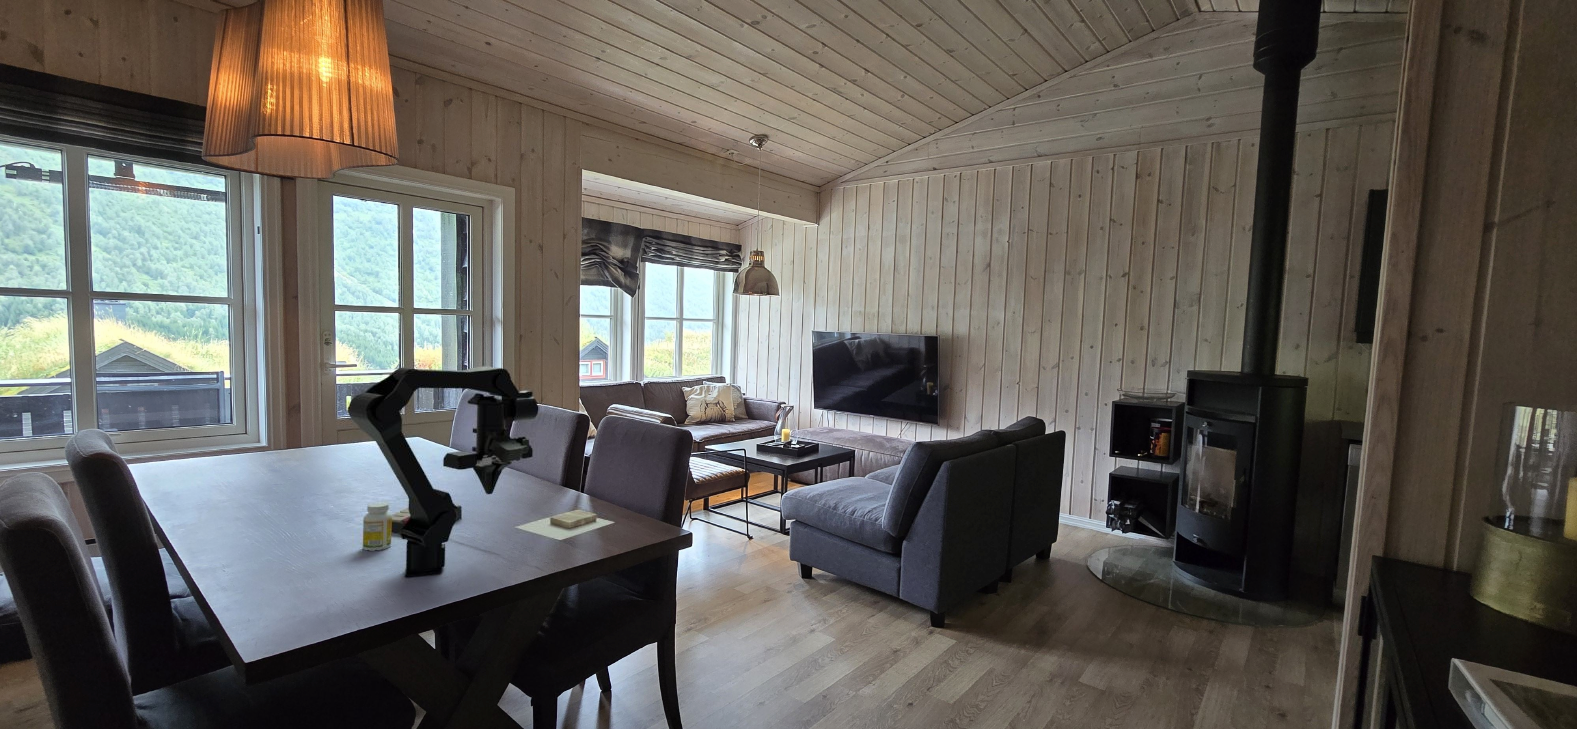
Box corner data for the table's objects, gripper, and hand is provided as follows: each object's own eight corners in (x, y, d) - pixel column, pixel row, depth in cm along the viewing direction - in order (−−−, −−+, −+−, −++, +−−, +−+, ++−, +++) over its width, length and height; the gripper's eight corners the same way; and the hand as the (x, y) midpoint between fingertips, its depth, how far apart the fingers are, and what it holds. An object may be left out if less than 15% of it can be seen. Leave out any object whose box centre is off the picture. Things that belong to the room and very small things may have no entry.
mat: (560, 542, 155) (560, 540, 155) (514, 529, 163) (514, 527, 163) (614, 524, 171) (614, 522, 171) (570, 513, 179) (570, 511, 178)
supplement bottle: (372, 553, 143) (372, 509, 142) (357, 548, 145) (358, 505, 144) (396, 546, 147) (397, 503, 147) (381, 541, 150) (382, 500, 149)
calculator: (379, 518, 156) (423, 499, 171) (379, 535, 157) (424, 515, 171) (421, 522, 155) (462, 502, 169) (421, 540, 155) (462, 519, 170)
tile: (570, 522, 163) (596, 514, 171) (550, 517, 167) (577, 509, 175) (569, 529, 163) (596, 520, 171) (549, 523, 167) (577, 515, 175)
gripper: (476, 433, 133) (474, 509, 134) (550, 423, 150) (548, 491, 151) (442, 426, 139) (440, 500, 140) (517, 418, 155) (515, 484, 156)
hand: (489, 493), depth 146 cm, fingers closed
